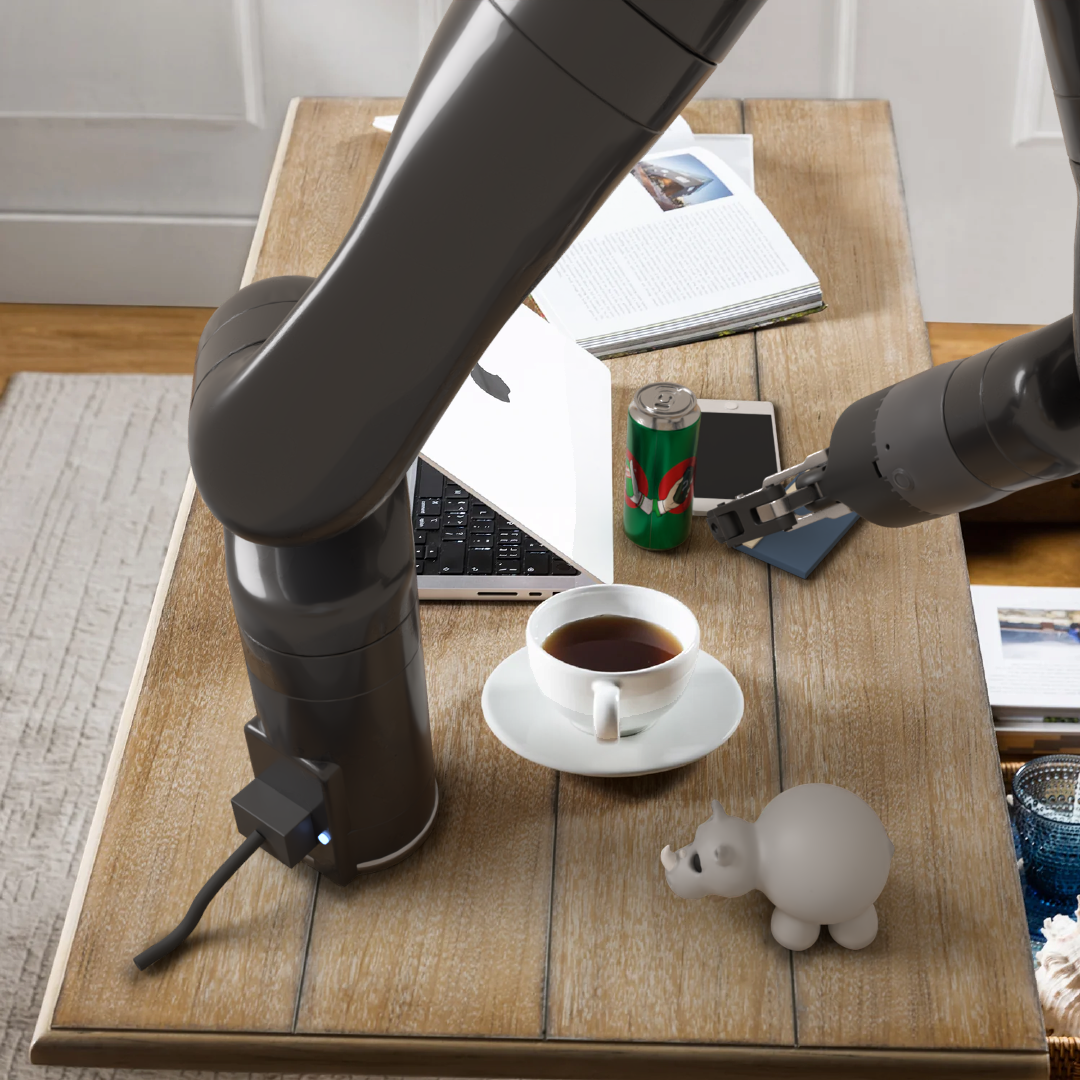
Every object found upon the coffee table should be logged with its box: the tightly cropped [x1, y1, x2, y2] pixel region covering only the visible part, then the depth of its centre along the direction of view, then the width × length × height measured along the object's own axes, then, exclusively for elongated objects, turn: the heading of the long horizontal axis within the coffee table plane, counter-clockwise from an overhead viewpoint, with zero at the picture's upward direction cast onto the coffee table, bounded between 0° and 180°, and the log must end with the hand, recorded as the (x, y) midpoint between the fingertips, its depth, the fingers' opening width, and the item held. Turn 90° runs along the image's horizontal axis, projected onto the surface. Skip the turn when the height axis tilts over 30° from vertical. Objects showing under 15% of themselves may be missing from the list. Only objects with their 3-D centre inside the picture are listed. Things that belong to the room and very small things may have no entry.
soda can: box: [622, 381, 701, 552], centre depth 91 cm, size 5×5×12 cm
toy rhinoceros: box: [660, 782, 896, 952], centre depth 67 cm, size 7×12×8 cm, turn 89°
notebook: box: [732, 469, 862, 580], centre depth 96 cm, size 12×6×1 cm, turn 143°
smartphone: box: [692, 398, 782, 517], centre depth 102 cm, size 7×16×1 cm, turn 176°
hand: (767, 503), depth 81 cm, fingers open, 8 cm apart
